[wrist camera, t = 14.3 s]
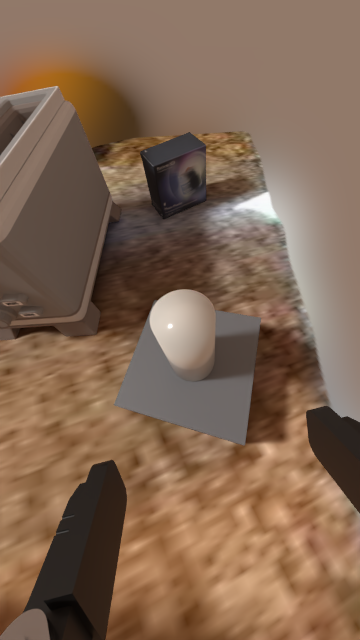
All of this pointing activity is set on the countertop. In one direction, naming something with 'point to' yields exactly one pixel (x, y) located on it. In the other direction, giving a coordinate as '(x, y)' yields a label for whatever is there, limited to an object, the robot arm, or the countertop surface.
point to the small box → (176, 174)
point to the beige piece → (186, 332)
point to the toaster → (49, 216)
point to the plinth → (199, 396)
